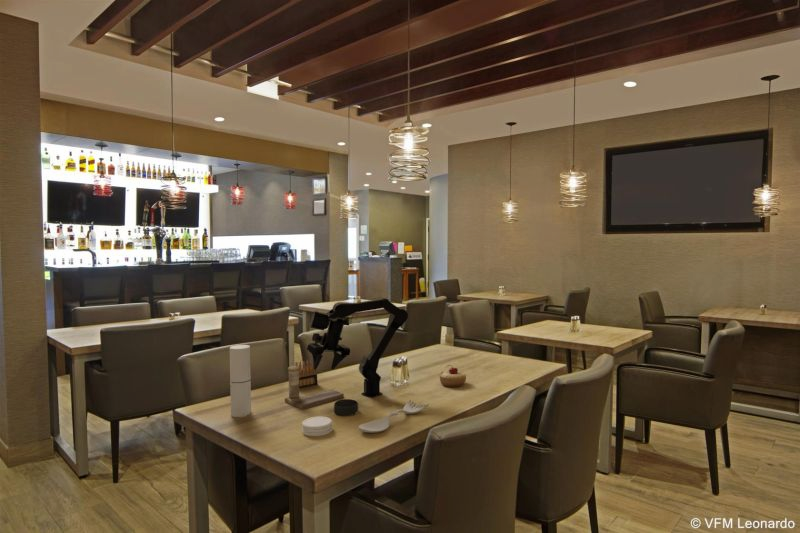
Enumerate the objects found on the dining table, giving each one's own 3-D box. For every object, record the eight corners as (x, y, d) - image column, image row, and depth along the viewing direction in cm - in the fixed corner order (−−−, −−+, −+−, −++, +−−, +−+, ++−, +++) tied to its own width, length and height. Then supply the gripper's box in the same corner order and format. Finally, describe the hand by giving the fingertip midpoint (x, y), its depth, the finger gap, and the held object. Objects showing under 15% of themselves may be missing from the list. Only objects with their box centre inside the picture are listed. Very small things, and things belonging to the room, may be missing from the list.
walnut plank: (343, 397, 194) (343, 393, 194) (302, 410, 180) (302, 405, 180) (332, 393, 200) (332, 389, 200) (291, 405, 186) (291, 400, 186)
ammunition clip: (295, 390, 206) (295, 362, 205) (293, 389, 207) (293, 361, 207) (317, 385, 213) (317, 358, 212) (315, 384, 214) (315, 358, 213)
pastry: (467, 389, 207) (468, 369, 207) (440, 388, 207) (440, 368, 207) (464, 380, 219) (464, 361, 218) (438, 380, 219) (438, 361, 219)
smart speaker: (348, 418, 171) (348, 407, 171) (329, 414, 176) (329, 403, 176) (362, 411, 179) (362, 400, 179) (343, 407, 184) (343, 397, 183)
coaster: (333, 425, 165) (333, 415, 165) (330, 437, 155) (330, 426, 155) (304, 426, 165) (304, 416, 164) (299, 437, 155) (299, 427, 155)
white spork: (429, 412, 178) (429, 403, 178) (373, 439, 153) (373, 429, 153) (410, 407, 184) (410, 398, 183) (353, 433, 158) (352, 423, 158)
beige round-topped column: (303, 401, 190) (303, 367, 189) (290, 404, 186) (290, 370, 185) (297, 398, 193) (297, 365, 193) (284, 401, 189) (284, 367, 188)
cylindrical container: (239, 418, 172) (238, 349, 171) (226, 414, 175) (225, 347, 174) (255, 412, 178) (254, 346, 177) (242, 409, 182) (241, 344, 180)
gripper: (339, 327, 206) (329, 362, 206) (304, 325, 192) (293, 361, 193) (355, 336, 198) (345, 372, 199) (320, 334, 184) (309, 372, 185)
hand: (323, 369), depth 194 cm, fingers open, 9 cm apart
